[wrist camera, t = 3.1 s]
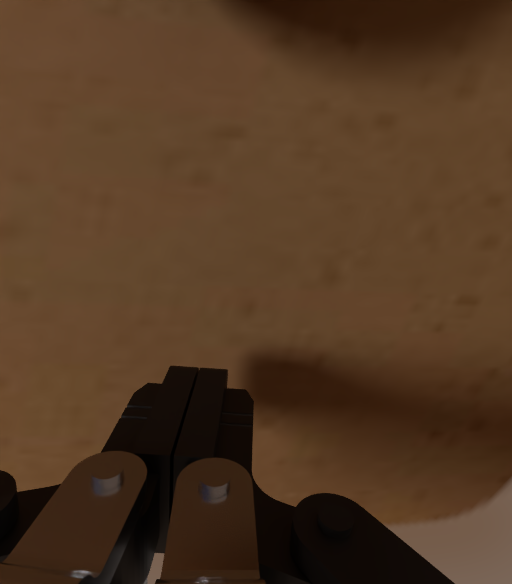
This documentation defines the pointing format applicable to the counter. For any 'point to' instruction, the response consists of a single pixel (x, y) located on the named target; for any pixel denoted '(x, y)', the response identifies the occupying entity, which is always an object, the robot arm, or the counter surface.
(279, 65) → the counter surface
